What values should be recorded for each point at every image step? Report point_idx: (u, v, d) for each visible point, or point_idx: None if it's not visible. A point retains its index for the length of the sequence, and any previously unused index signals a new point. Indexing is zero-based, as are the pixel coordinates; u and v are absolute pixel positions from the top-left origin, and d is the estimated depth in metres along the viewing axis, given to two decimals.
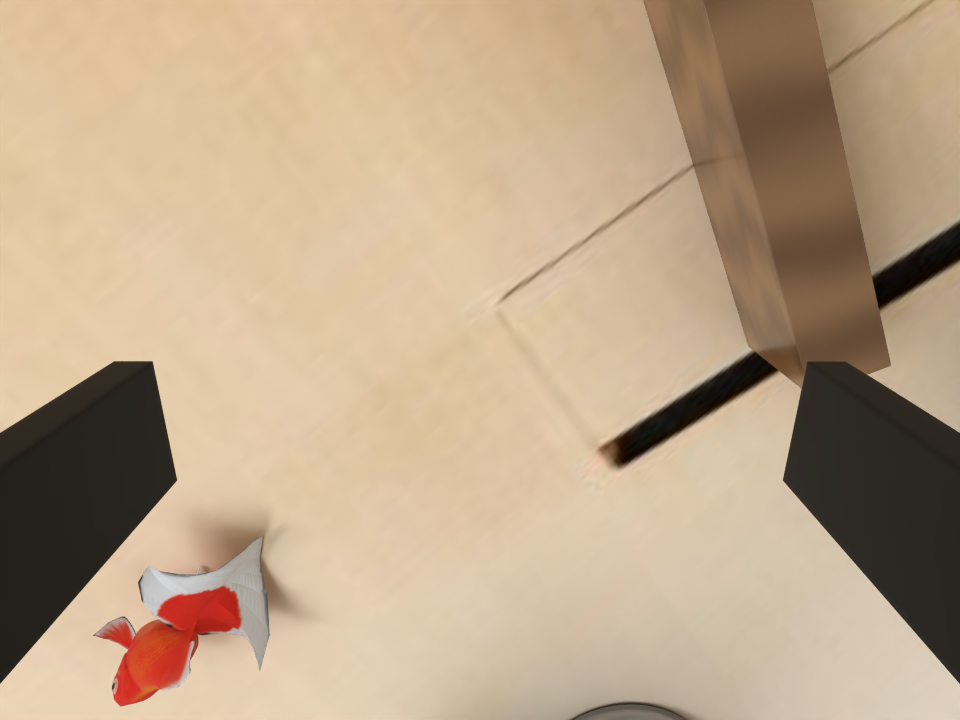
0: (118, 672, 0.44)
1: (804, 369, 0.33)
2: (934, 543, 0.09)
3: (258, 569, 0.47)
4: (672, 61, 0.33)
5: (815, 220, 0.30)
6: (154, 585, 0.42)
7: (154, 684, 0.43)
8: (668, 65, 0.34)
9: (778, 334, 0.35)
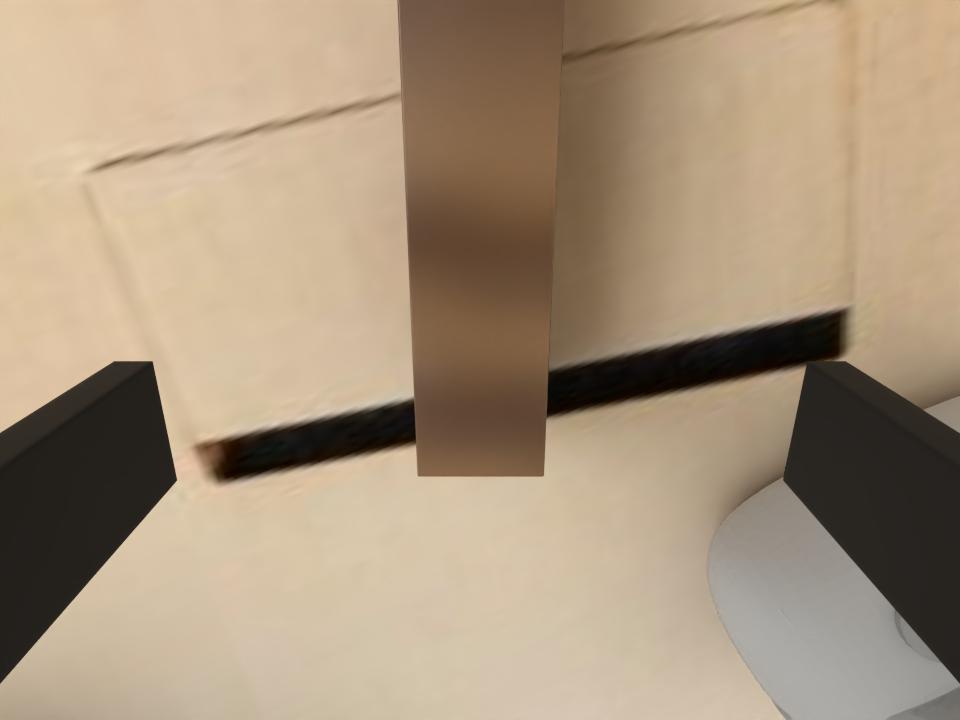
0: None
1: (417, 433, 0.21)
2: (935, 544, 0.09)
3: None
4: None
5: (487, 201, 0.18)
6: None
7: None
8: None
9: None
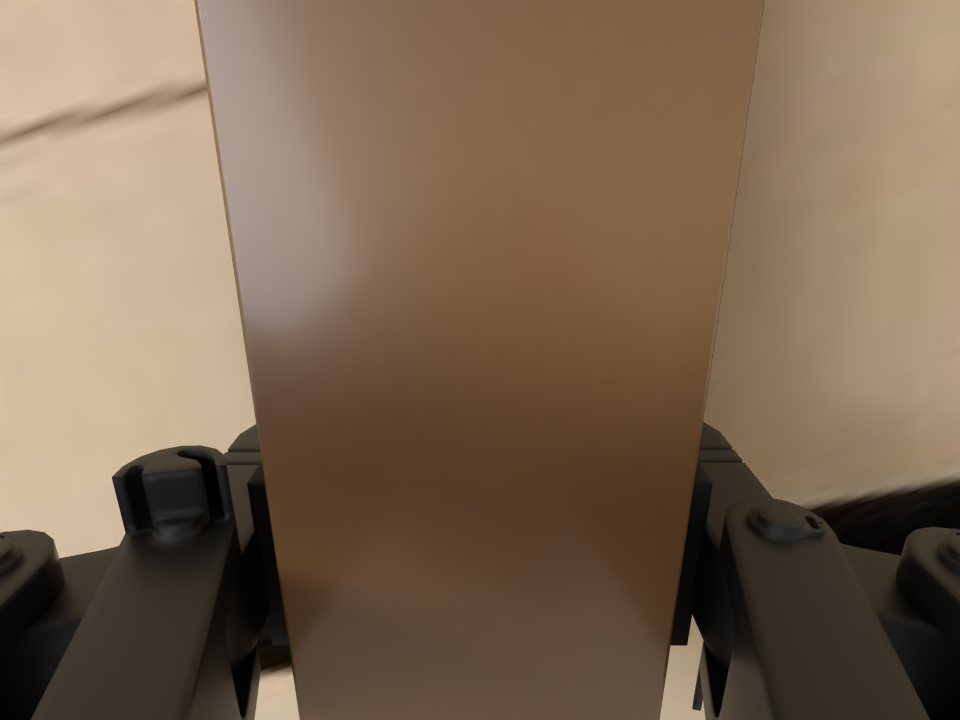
0: None
1: None
2: None
3: None
4: None
5: (497, 350, 0.06)
6: None
7: None
8: None
9: None
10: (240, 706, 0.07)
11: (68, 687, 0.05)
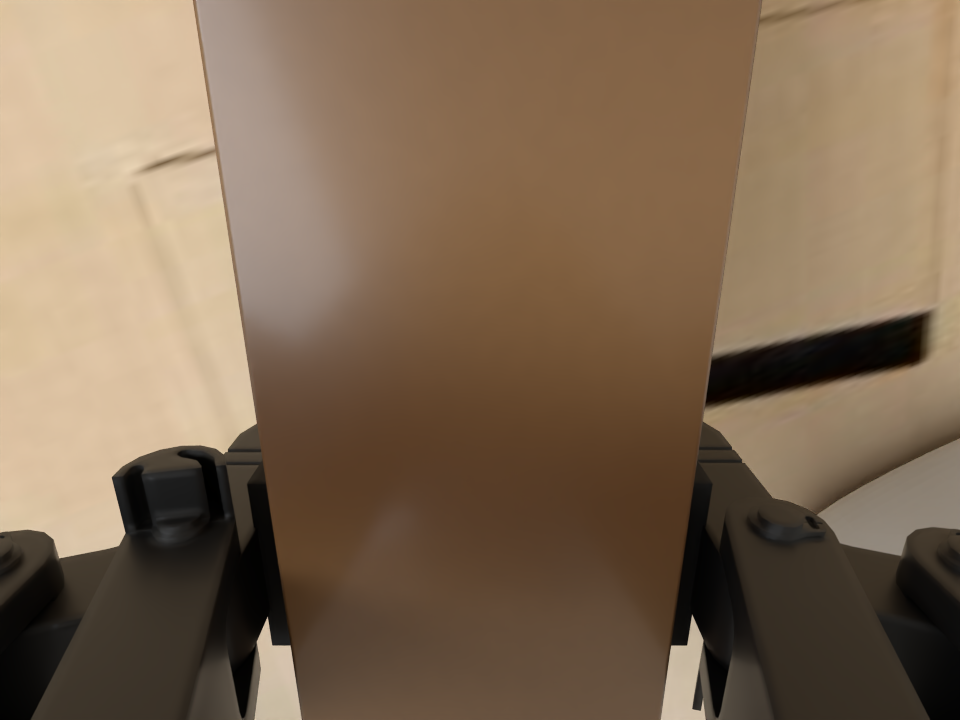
0: None
1: None
2: None
3: None
4: None
5: (497, 347, 0.06)
6: None
7: None
8: None
9: None
10: (240, 706, 0.07)
11: (68, 687, 0.05)
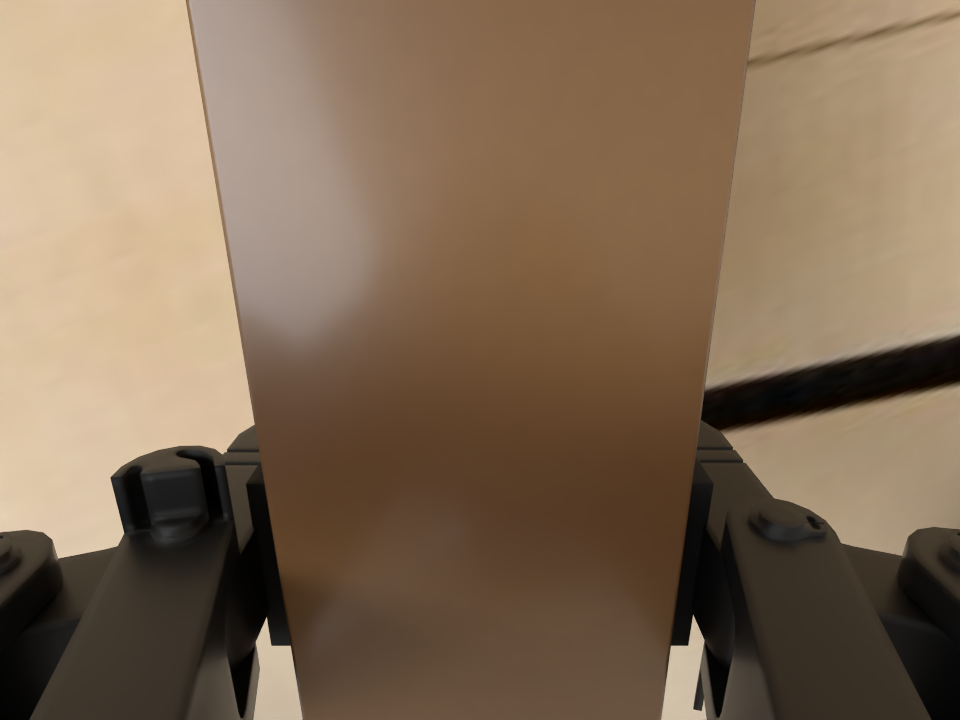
0: None
1: None
2: None
3: None
4: None
5: (494, 346, 0.06)
6: None
7: None
8: None
9: None
10: (239, 706, 0.07)
11: (67, 687, 0.05)
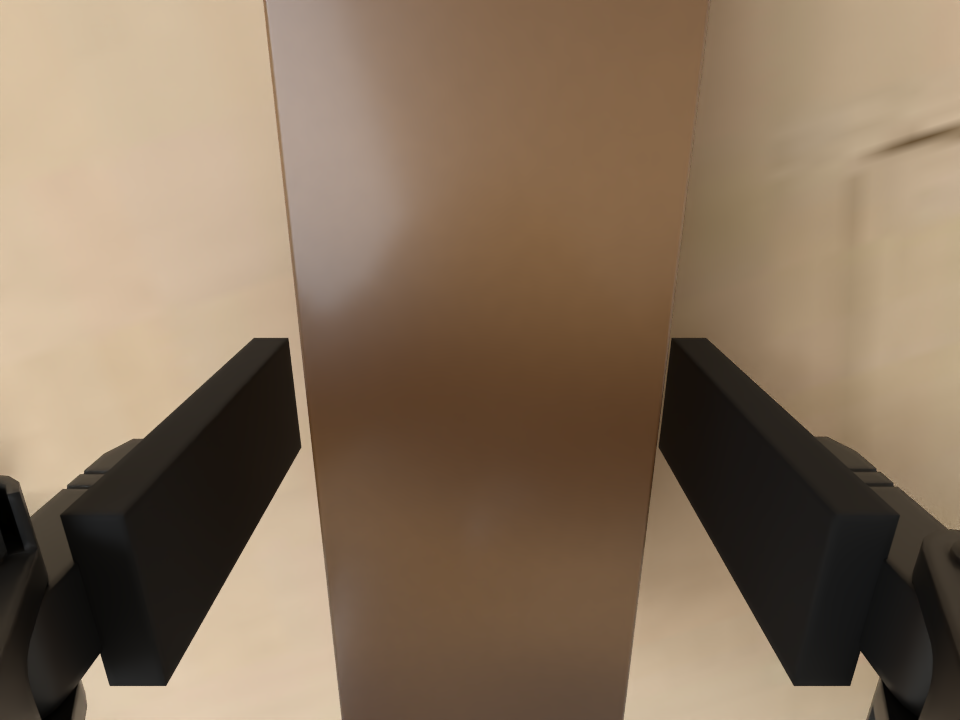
0: None
1: None
2: (736, 488, 0.10)
3: None
4: None
5: (500, 305, 0.07)
6: None
7: None
8: None
9: None
10: None
11: None
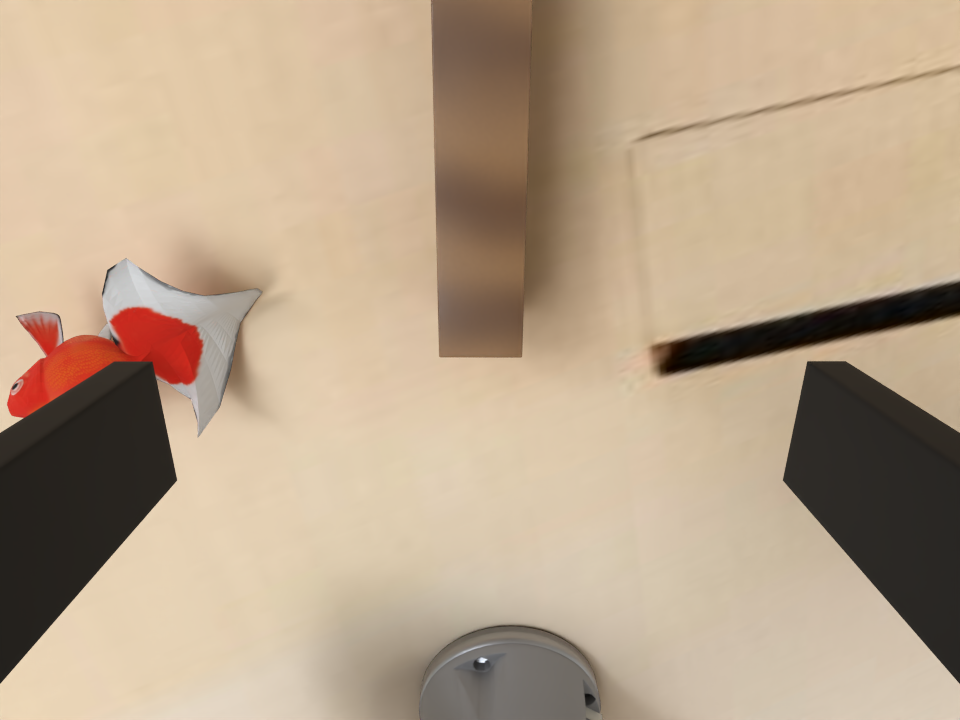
0: (26, 374, 0.36)
1: (439, 327, 0.32)
2: (934, 544, 0.09)
3: (234, 333, 0.40)
4: None
5: (484, 174, 0.29)
6: (123, 282, 0.34)
7: None
8: None
9: None
10: None
11: None
